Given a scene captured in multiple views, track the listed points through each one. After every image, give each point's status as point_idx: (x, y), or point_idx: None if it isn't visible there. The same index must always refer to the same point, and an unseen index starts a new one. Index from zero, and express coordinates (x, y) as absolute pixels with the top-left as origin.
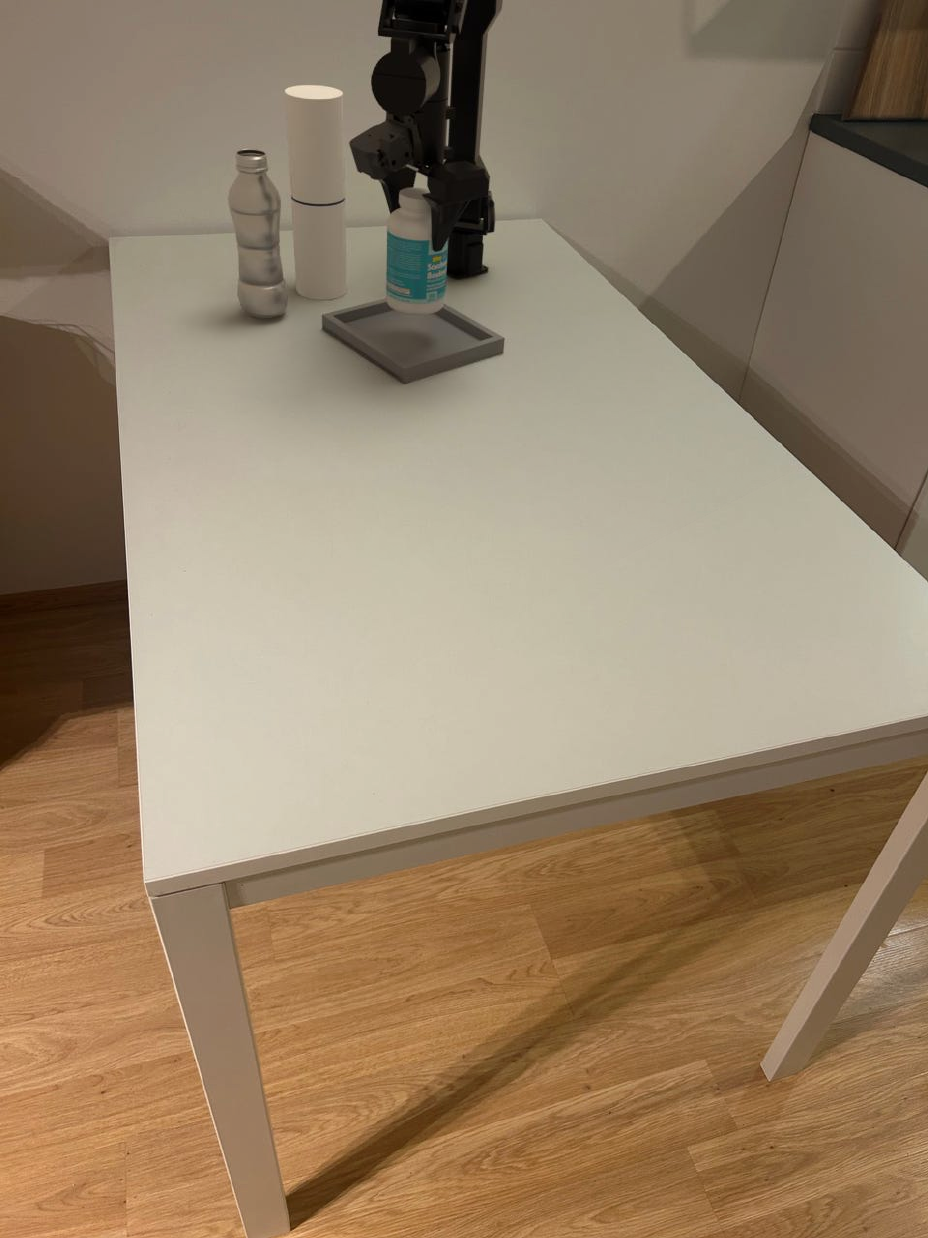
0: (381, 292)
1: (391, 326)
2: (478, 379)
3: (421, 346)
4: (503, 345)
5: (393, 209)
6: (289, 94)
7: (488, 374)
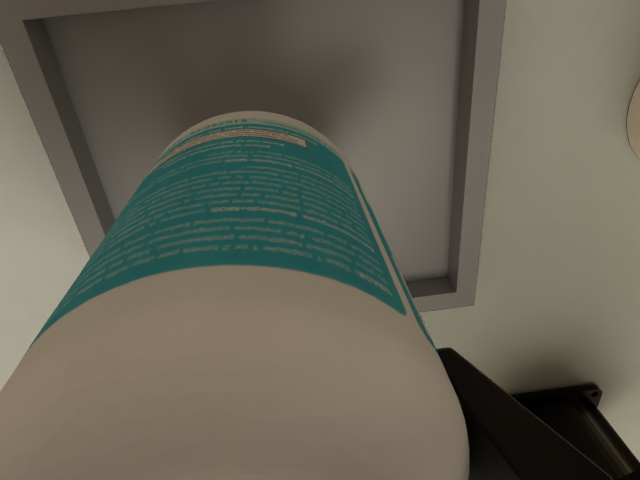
0: (568, 235)
1: (365, 150)
2: (6, 209)
3: None
4: None
5: (497, 454)
6: None
7: (31, 244)
